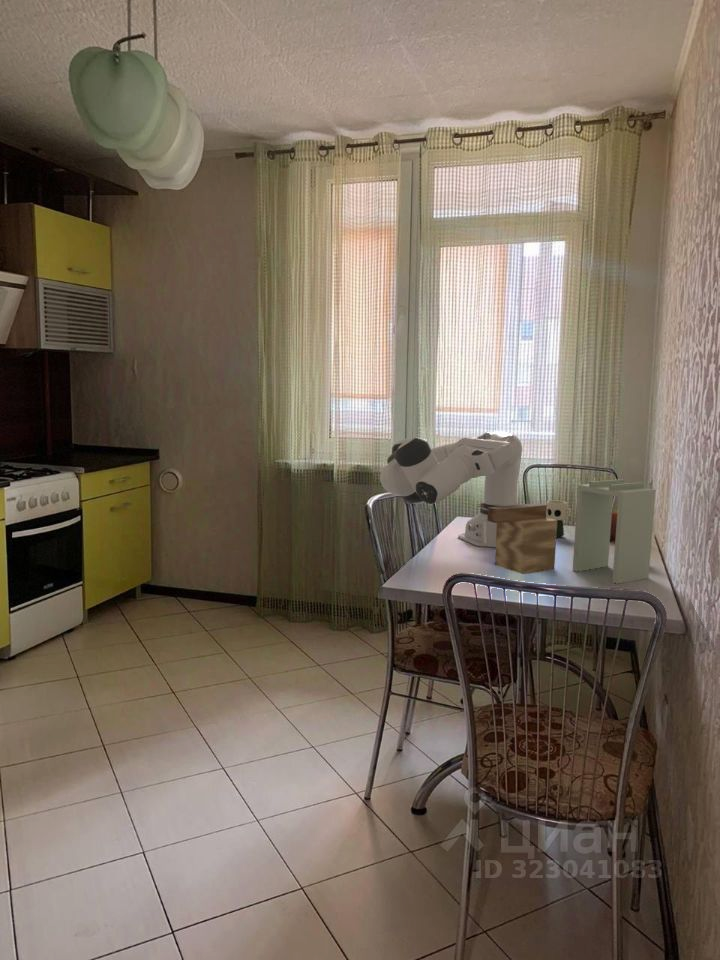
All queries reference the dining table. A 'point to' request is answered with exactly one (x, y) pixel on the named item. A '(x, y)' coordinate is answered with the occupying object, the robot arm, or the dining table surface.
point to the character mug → (558, 514)
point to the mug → (613, 525)
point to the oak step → (526, 545)
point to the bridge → (629, 529)
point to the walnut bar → (516, 513)
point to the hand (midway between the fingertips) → (500, 436)
